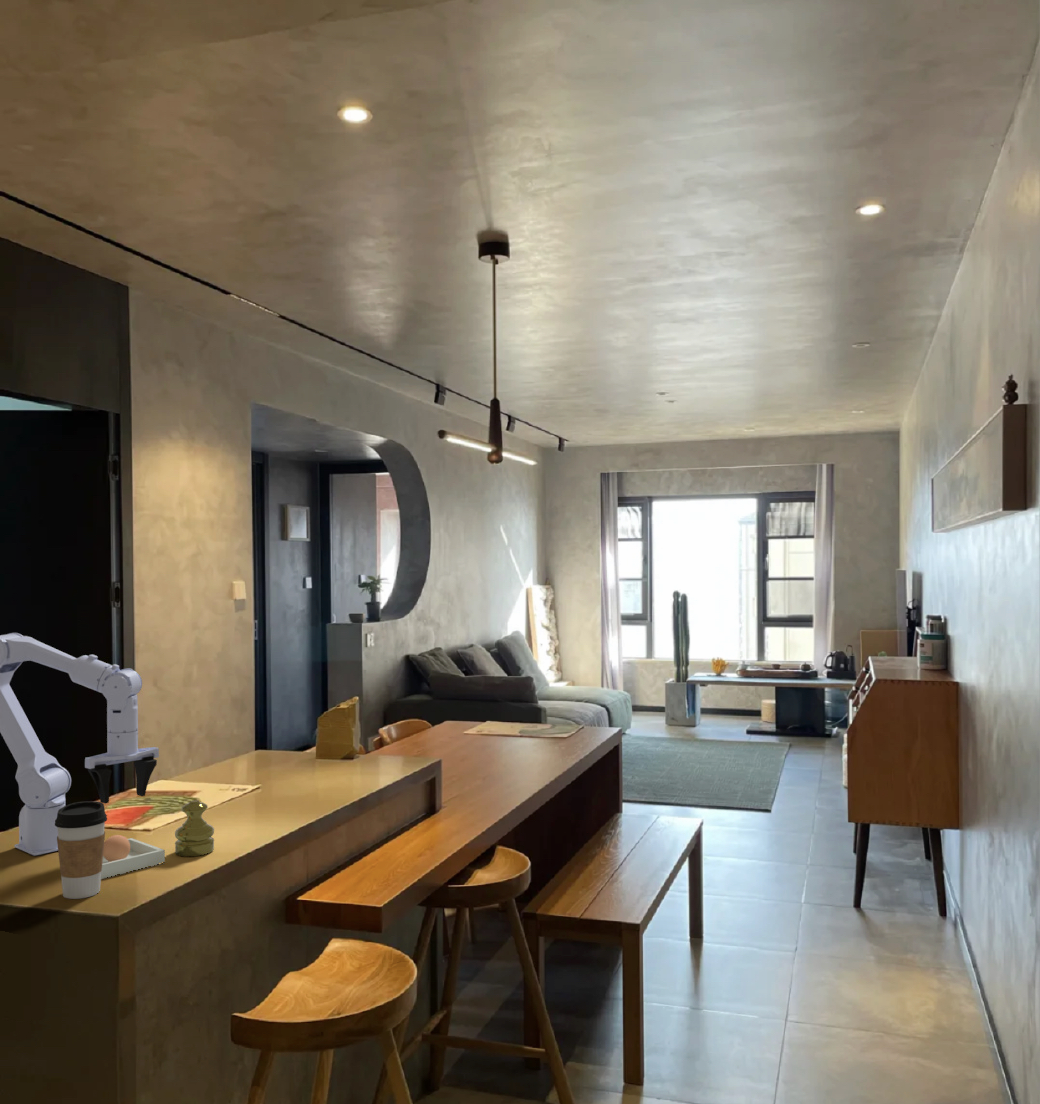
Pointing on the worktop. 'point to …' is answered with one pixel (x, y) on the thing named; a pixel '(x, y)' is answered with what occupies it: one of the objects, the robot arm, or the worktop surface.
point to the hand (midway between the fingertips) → (123, 798)
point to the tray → (134, 859)
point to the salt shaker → (194, 832)
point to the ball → (116, 848)
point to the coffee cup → (81, 847)
